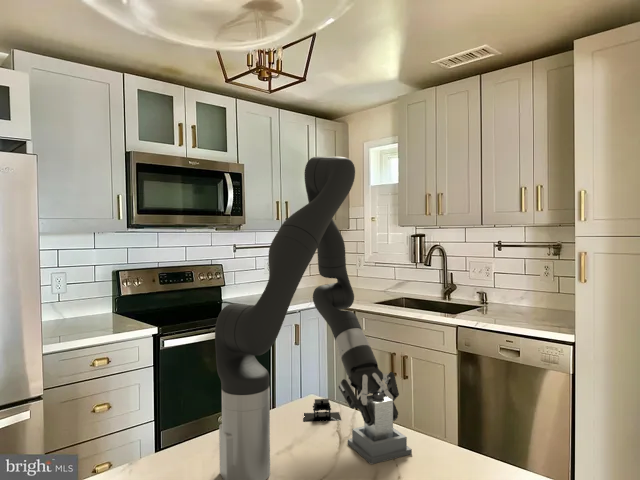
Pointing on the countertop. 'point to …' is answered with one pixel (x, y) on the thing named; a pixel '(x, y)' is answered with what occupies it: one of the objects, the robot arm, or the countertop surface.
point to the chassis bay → (379, 446)
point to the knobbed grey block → (380, 417)
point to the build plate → (322, 416)
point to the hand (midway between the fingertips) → (383, 421)
